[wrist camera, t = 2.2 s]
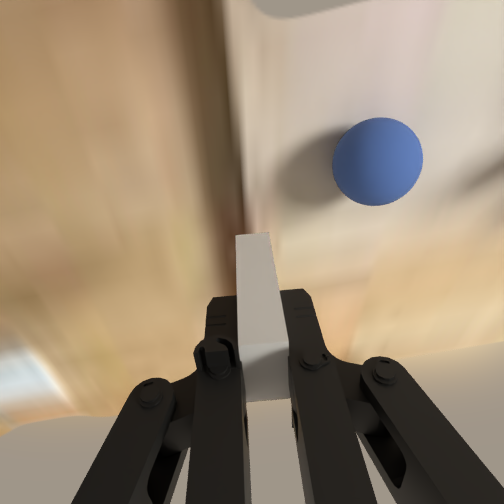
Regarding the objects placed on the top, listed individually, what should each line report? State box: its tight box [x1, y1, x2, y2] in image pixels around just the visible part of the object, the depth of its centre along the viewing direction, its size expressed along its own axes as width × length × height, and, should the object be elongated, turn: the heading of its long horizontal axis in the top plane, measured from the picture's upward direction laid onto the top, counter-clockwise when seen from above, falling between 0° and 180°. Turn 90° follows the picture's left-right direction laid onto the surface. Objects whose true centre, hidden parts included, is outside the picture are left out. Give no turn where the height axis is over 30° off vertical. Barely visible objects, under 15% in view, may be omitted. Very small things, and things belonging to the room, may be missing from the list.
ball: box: [332, 118, 423, 206], centre depth 25 cm, size 6×6×6 cm
